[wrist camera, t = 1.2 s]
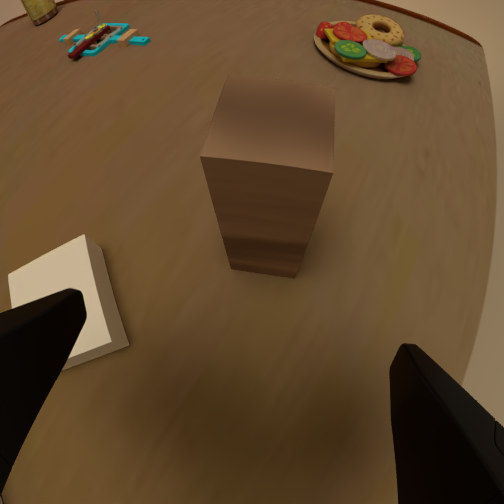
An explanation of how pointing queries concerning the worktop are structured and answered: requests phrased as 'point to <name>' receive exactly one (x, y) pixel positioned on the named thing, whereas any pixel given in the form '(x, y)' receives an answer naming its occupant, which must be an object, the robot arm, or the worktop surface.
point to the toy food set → (368, 47)
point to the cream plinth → (81, 278)
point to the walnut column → (269, 169)
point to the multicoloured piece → (101, 38)
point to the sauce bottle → (40, 10)
